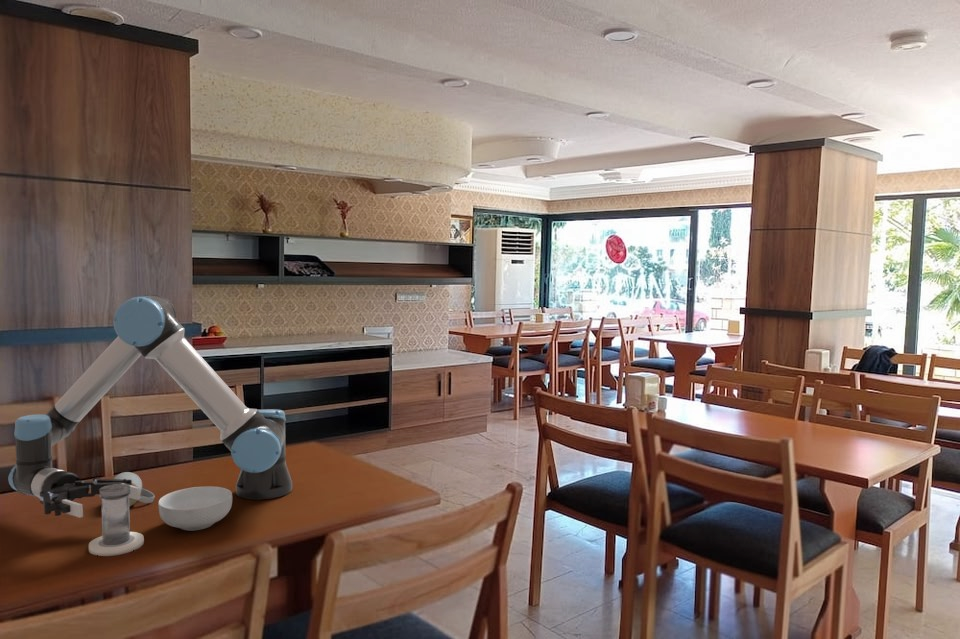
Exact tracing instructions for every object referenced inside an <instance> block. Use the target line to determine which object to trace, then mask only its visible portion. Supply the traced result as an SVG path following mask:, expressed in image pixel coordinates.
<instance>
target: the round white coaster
mask: <svg viewBox="0 0 960 639" xmlns="http://www.w3.org/2000/svg"><path fill="white" fill-rule="evenodd" d="M144 543H145V538H144V535H143V534H142V533H140V532H137V531H130V540H129V541H127V542H125V543H122V544H118V545H105V544H103V541H102V535H101V536H99V537H96V538H94V539H92V540H91V541H90V542H89V543H88V552H89V553H90V554H91V555H94V556H97V555H98V556H99V557H112V556H113V557H115V556H120V555H124V554H128V553H130V552H133V550H134V551H136V550H139V549H140V548H141V547H142V546H143V545H144Z"/></svg>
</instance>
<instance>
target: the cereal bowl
mask: <svg viewBox="0 0 960 639" xmlns="http://www.w3.org/2000/svg"><path fill="white" fill-rule="evenodd" d="M157 504H158V505H157V506H158V514H159V516H160V519H161V520H162V521H163V522H164V524H166V525H168V526H170V527H173V528H177V529H181V530H183V531H189V532H190V531H201V530H204V529H207V528H210V527H211V526H213V525H214V524H215V523H217V522H220V521H221V520H222V519H224V518H225V517H226V516H227V515H228V514H229V512H230V510H231V509H232V505H233V492H232V491H231V490H230V489H228V488H226V487H222V486H211V485H210V486H208V485H207V486H205V485H204V486H194V487H193V486H192V487H188V488H183V489H179V490H175V491H172V492H169V493H167V494H165V495H163V496H162V497H160V499H158V502H157Z"/></svg>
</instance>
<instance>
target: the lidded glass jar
mask: <svg viewBox="0 0 960 639" xmlns="http://www.w3.org/2000/svg"><path fill="white" fill-rule="evenodd" d="M130 493H131V486H130V485H128V484H113V485H108V486H104V487H102V488H100V489H99V494H98V495H99V498H100V499H101V501H100V502H101V504H100V505H101V529H102V530H101V531H102V532H101V534H102V535H101V536H102V541H103V544H105V545H118V544H122V543H125V542H127V541H129V540H130V532H131V529H130V528H131V526H130V524H131V520H130V519H131V518H130V517H131V516H130V507H129V494H130Z"/></svg>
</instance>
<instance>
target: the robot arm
mask: <svg viewBox="0 0 960 639" xmlns="http://www.w3.org/2000/svg"><path fill="white" fill-rule="evenodd" d="M113 329H114V331H115V334H116V335H117V337H116V338H115V339H114V340H113V341H112V342H111V343H110V344H109V345H108V346H107V347H106V348H105V350H104V351H103V352H102V353H101V354H99V356H98V357H97V358H95V360H94V361H93V363H92V364H90V366H89V367H88V368H86V370H85V371H84V372H83V373H82V375H81V376H80V377H78V379H77V380H76V381H75V382H74V383H73V384H72V385H71V386H70V387H69V389H68V390H67V391H66V392H64V394H63V395H62V396H61V397H60V398H59V400H58V401H57V402H56V403H55V404H54V405H53V406H52V407H51V408H50V409H49V410H47V412H46V413H45V414H27V415H25V416H20V417H18V418H17V419H16V420H15V422H14V434H13V435H14V441H15V442H14V443H15V444H14V446H15V465H14V466H13V467H12V468H11V469H10V471H9V474H8V477H7V478H8V484H9V485H10V487H11V489H13V490H14V491H17V492H18V493H20V494H22V495H27V496H32V497H33V498H34V497H35V498H37V499H39V503H40V504H41V505H43V510H44V515H50V514H52V512H54V516H56V517H59V516H61V515H62V513H63V514H66V515H69V516H73V517H76V518H80V519H81V518H83V517H84V510H83V507H84V504H82V503H80V502H75V500H76V499H83V498H93V497H95V496H97V495H99V489H100V488H102V487H104V486H108V485H113V484H128V485H130V486H131V493H130V494H129V498H132V499H136V500H139V499H140V496H141V494H140V488H139V487H135V486H132V480H126V479H114V478H100V477H93V478H92V480H91V481H89V480H88V481H85V480H81V478H80V477H79V476H78V474H75V473H74V472H69V471H65V470H63V469H58V468H55V467H53V446H55V445H57V444H58V443H60V442H61V441H63V440H65V439H67V438H68V437H69V436H70V435H71V434H72V433H73V432H74V431H75V428H76V427H77V425H78V424H79V423H80V422H81V421H82V420H83V419H84V418H85V416H86V415H87V414H88V413H89V412H90V411H91V410H92V409H93V408H94V407H95V406H96V405H97V403H99V402H100V401H101V399H103V397H104V396H105V395H106V394H107V393H108V392H109V391H110V389H111V388H112V387H113V386H114V385H115V384H116V383H117V382H118V381H119V380H120V378H122V377H123V375H125V374H126V373H127V371H128V370H129V369H130V368H131V367H132V365H134V364H135V363H136V361H137V360H138V359H139V358H140V357H141V356H142V357H144V359H147V360H148V359H149V360H155V362H157V363H158V364H159V366H161V367H162V368H163V370H164V371H165V372H166V373H167V374H168V375H169V376H170V377H171V378H172V379H173V380H174V381H175V383H176V384H177V385H178V386H179V387H180V389H182V390H183V392H184V393H185V394H186V395H187V396H188V397H189V398H190V399H191V400H192V402H194V403H195V404H196V406H197V407H198V408H200V410H201V411H202V412H203V414H205V415H206V417H208V419H209V420H210V421H211V422H212V423H213V424H214V425H215V427H217V429H219V431H220V435H219V436H220V437H219V439H220V441H221V442H222V444H224V446H225V447H226V448H227V449H228V450H229V451H230V454H231V455H230V456H231V458H232V460H233V462H234V464H235V465H236V466H237V467H238V468H239V469H240V472H239V475H238V478H237V481H236V483H235V495H236V496H237V497H239V498H240V499H245V500H257V501H258V500H269V499H276V498H280V497H283V496H286V495H288V494H289V493H291V492H292V491H293V481H292V478H291V474H290V470H289V469H288V466H287V463H286V422H287V419H286V413H285V411H284V410H282V409H275V408H274V409H273V408H272V409H269V408H268V409H257V408H249V407H247V406H246V405H245V403H244V402H243V401H242V400H241V399H240V398H239V397H238V395H236V393H235V392H234V391H233V390H232V389H231V388H230V387H229V386H228V384H227V383H226V382H225V381H224V380H223V379H222V378H221V376H220V375H218V373H217V372H216V371H215V370H214V369H213V367H211V366H210V364H209V363H208V362H207V361H206V360H205V359H204V358H203V357H202V355H201V354H199V352H198V351H197V350H196V349H195V347H193V345H192V344H191V343H190V342H189V341H188V340H187V338H186V337H185V331H186V330H185V327H184V326H183V325H182V323H180V321H178V314H177V310H176V308H175V306H174V304H173V302H171V301H170V300H169V299H167V298H166V297H164V296H161V295H159V294H147V295H139V296H138V295H137V296H133V297H131V298H129V299H128V300H125V301H124V302H122V303H121V304H120V305H119V306H118V308H117V309H116V310H115V313H114V315H113Z"/></svg>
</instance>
